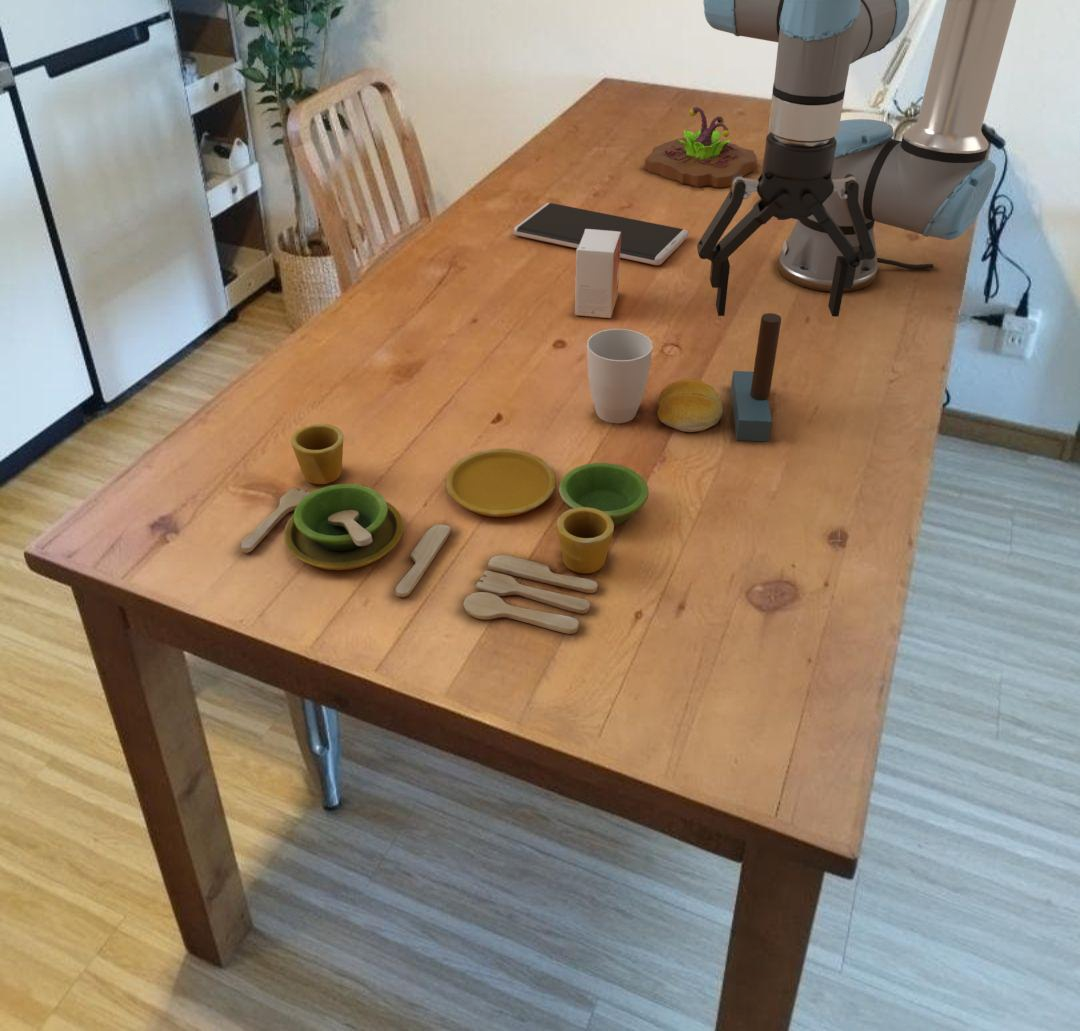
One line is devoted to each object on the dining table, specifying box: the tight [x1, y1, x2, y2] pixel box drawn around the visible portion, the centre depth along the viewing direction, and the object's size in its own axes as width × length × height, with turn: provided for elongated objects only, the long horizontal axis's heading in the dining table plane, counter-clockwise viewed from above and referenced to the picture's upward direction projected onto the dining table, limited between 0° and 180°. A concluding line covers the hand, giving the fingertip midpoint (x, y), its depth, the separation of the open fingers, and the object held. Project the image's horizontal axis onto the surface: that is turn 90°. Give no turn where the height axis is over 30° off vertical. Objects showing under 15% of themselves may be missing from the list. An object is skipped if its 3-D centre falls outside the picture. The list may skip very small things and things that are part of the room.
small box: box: [574, 229, 621, 319], centre depth 159 cm, size 8×6×10 cm
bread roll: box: [656, 378, 724, 433], centre depth 137 cm, size 8×9×4 cm
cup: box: [586, 328, 653, 424], centre depth 135 cm, size 8×8×10 cm
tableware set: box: [241, 423, 649, 635], centre depth 119 cm, size 41×28×6 cm
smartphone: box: [513, 202, 689, 266], centre depth 181 cm, size 13×27×2 cm, turn 63°
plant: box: [644, 106, 757, 189], centre depth 205 cm, size 20×20×11 cm
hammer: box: [730, 312, 782, 443], centre depth 134 cm, size 4×12×14 cm, turn 175°
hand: (776, 311), depth 129 cm, fingers open, 13 cm apart
